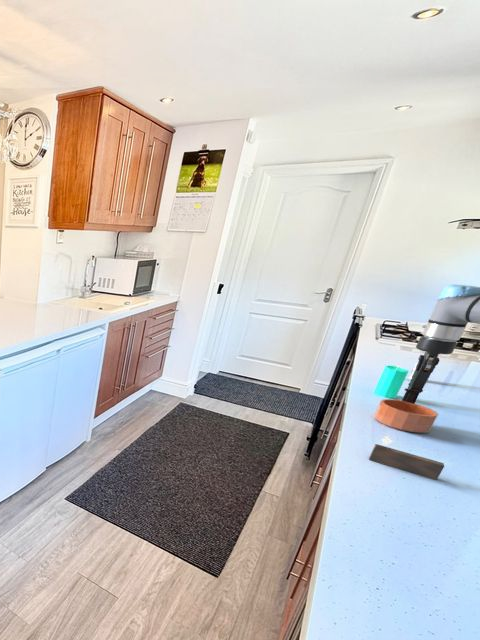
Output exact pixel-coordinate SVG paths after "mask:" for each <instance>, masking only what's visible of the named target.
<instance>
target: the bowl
mask: <svg viewBox="0 0 480 640" xmlns="http://www.w3.org/2000/svg"><path fill="white" fill-rule="evenodd" d="M438 416H440V415H439V413H438V412H437V411H436V410H434V409H432V408H429V407H428V406H427V407H426V406H424V405H421V404H418V403H411V402H406V401H402V399H394V398H384V399H382V400H380V402H379V404H378V406H377V408H376V410H375V412H374V414H373V417H374V419H375V420H376V421H378V422H380V423H381V424H383V425H385V426H387V427H390V428H393V429H396V430H400V431H404V432H409V433H416V434H417V433H419V434H423V433H424V434H425V433H429V432H430V431H431V430H432V428H433V426H434V425H435V422H436V420H437V418H438Z"/></svg>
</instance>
